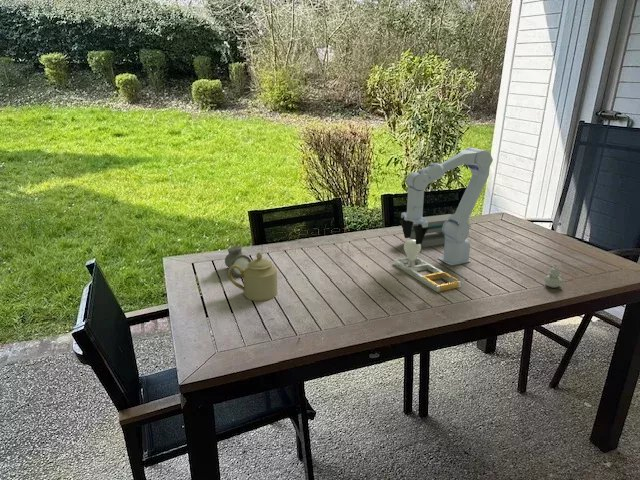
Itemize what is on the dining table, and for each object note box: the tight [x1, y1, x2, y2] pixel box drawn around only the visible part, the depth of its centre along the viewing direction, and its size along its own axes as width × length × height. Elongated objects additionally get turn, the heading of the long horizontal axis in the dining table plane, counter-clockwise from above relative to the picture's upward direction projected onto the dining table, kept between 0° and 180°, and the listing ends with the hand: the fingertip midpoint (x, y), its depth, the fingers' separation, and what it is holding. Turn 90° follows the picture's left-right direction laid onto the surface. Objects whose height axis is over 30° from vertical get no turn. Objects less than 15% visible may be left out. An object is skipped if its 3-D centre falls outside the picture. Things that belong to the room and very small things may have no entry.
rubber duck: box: [544, 265, 564, 289], centre depth 151 cm, size 5×7×8 cm
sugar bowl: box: [227, 252, 278, 302], centre depth 146 cm, size 15×11×15 cm
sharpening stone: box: [409, 213, 453, 248], centre depth 195 cm, size 25×8×11 cm, turn 109°
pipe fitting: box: [224, 245, 252, 278], centre depth 167 cm, size 12×8×10 cm
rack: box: [393, 256, 462, 293], centre depth 162 cm, size 10×27×2 cm, turn 23°
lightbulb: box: [403, 238, 422, 267], centre depth 169 cm, size 6×6×11 cm
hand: (412, 240), depth 167 cm, fingers open, 7 cm apart
